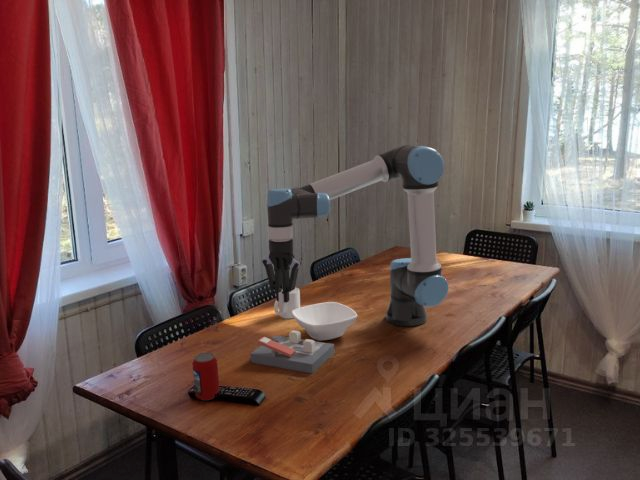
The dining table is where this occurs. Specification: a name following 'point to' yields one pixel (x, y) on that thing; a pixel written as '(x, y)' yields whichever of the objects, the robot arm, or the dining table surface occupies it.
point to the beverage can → (205, 376)
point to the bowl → (325, 319)
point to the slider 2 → (309, 345)
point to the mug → (289, 304)
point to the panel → (298, 360)
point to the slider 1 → (295, 336)
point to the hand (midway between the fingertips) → (283, 311)
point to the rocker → (276, 346)
